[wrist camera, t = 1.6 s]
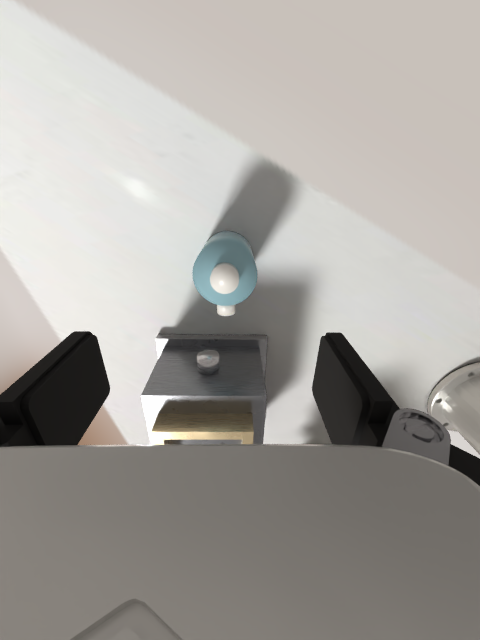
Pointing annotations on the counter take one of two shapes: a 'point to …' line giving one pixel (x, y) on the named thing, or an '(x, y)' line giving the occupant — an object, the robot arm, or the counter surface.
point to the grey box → (207, 390)
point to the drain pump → (225, 271)
